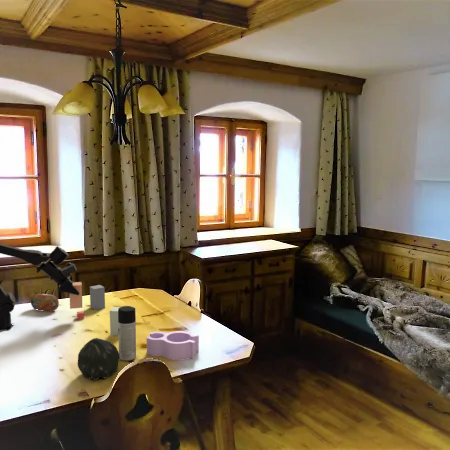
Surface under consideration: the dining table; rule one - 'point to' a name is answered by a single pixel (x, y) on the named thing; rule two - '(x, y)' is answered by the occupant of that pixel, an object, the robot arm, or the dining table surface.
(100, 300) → the tall grey pillar
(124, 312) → the spray can
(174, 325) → the dining table surface
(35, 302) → the tin
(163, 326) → the dining table surface
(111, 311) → the pale grey tall block
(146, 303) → the dining table surface
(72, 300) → the salmon pink pillar
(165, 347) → the clip
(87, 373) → the squash
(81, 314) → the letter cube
